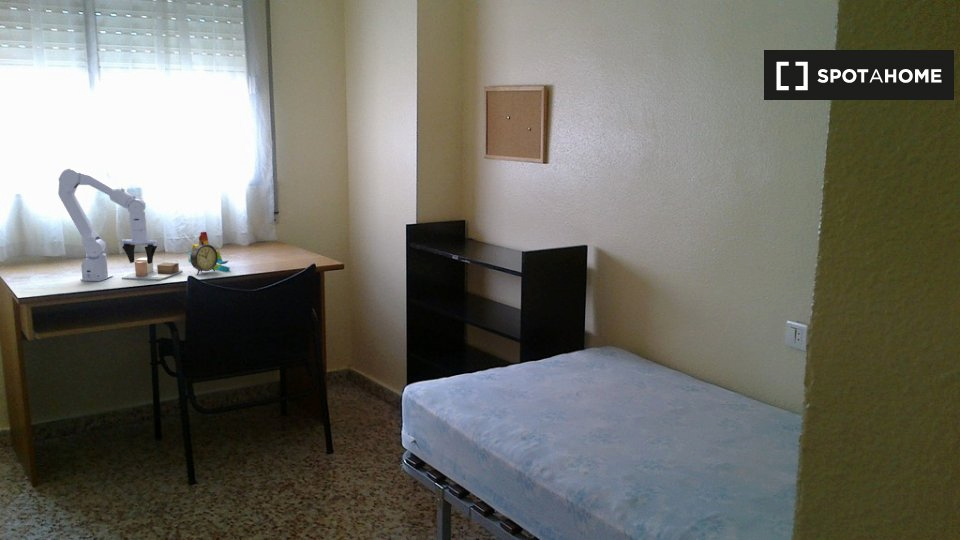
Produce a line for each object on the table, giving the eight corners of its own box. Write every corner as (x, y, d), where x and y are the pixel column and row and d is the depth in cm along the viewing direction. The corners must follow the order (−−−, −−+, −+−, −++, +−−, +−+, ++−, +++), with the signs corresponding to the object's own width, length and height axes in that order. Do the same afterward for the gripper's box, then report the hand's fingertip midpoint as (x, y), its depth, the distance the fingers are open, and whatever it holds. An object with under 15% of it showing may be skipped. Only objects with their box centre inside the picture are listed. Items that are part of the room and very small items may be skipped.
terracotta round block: (143, 276, 312) (142, 263, 311) (133, 276, 312) (132, 262, 311) (149, 274, 316) (148, 261, 315) (139, 274, 317) (138, 260, 315)
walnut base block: (171, 274, 318) (171, 265, 317) (157, 273, 318) (157, 265, 318) (178, 271, 324) (178, 263, 323) (165, 270, 324) (164, 262, 324)
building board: (160, 280, 308) (160, 279, 308) (121, 278, 310) (121, 277, 310) (183, 271, 326) (183, 270, 325) (146, 270, 328) (146, 268, 327)
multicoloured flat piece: (230, 271, 329) (228, 236, 326) (223, 272, 327) (221, 237, 324) (195, 261, 350) (193, 228, 347) (188, 262, 347) (186, 229, 344)
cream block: (147, 273, 319) (146, 260, 318) (137, 272, 319) (136, 259, 318) (153, 271, 323) (152, 258, 322) (143, 270, 324) (142, 257, 323)
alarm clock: (197, 275, 318) (195, 236, 315) (188, 274, 321) (186, 235, 318) (219, 271, 328) (217, 233, 324) (210, 270, 330) (208, 232, 327)
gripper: (161, 228, 313) (163, 261, 316) (127, 227, 315) (129, 260, 318) (151, 231, 307) (153, 265, 309) (117, 229, 308) (119, 263, 311)
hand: (141, 262), depth 313 cm, fingers open, 7 cm apart
